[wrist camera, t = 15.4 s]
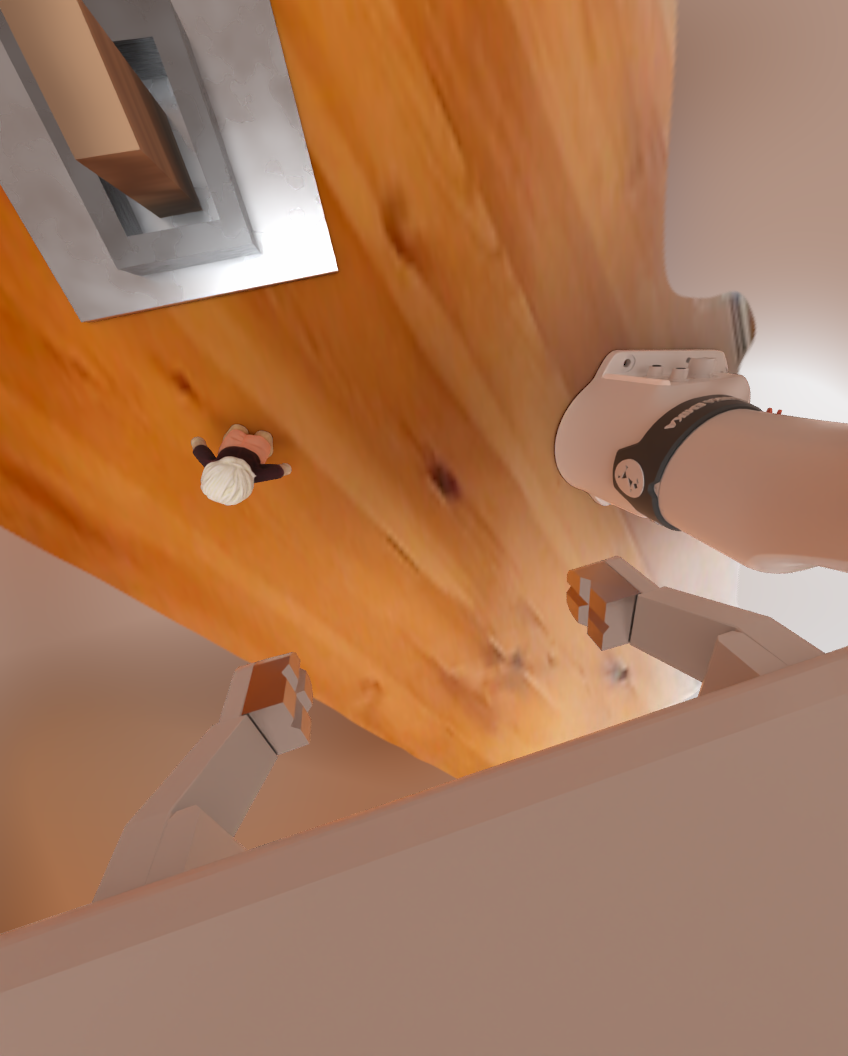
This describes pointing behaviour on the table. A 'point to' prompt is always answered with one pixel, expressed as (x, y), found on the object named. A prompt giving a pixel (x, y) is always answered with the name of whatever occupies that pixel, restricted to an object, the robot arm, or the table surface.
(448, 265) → the table surface
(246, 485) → the grandmother figurine
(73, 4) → the walnut wedge
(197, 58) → the grey socket base
